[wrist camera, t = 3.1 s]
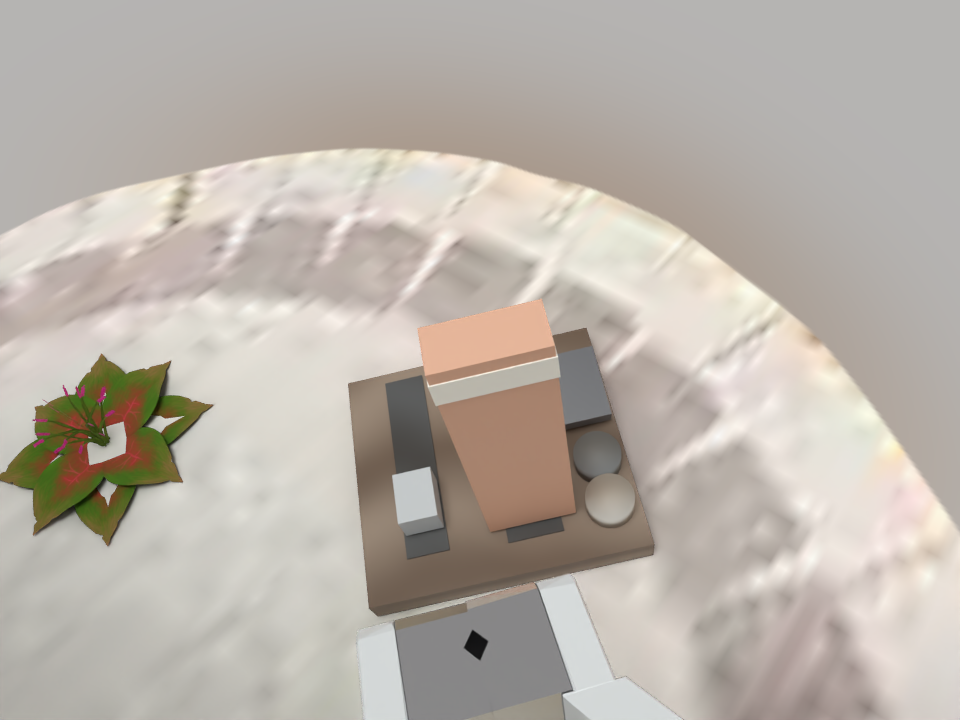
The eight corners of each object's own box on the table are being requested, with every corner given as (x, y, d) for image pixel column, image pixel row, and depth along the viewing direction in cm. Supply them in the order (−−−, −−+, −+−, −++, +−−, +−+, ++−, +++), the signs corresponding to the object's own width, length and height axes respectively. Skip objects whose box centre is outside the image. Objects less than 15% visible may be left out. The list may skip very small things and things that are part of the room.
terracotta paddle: (577, 513, 34) (556, 346, 23) (489, 533, 34) (423, 377, 23) (567, 475, 35) (543, 297, 24) (482, 495, 35) (415, 327, 24)
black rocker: (610, 419, 37) (611, 413, 36) (562, 430, 37) (562, 425, 36) (591, 352, 38) (592, 345, 37) (545, 363, 38) (544, 356, 37)
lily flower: (107, 332, 48) (62, 288, 44) (253, 397, 43) (218, 354, 39) (-34, 497, 43) (-99, 463, 39) (115, 588, 38) (60, 560, 34)
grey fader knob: (444, 527, 35) (437, 515, 34) (406, 536, 35) (397, 524, 34) (436, 480, 36) (429, 466, 35) (400, 488, 36) (392, 475, 35)
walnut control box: (653, 554, 35) (655, 535, 32) (377, 616, 35) (361, 602, 33) (586, 341, 41) (585, 314, 39) (356, 395, 42) (341, 371, 39)
